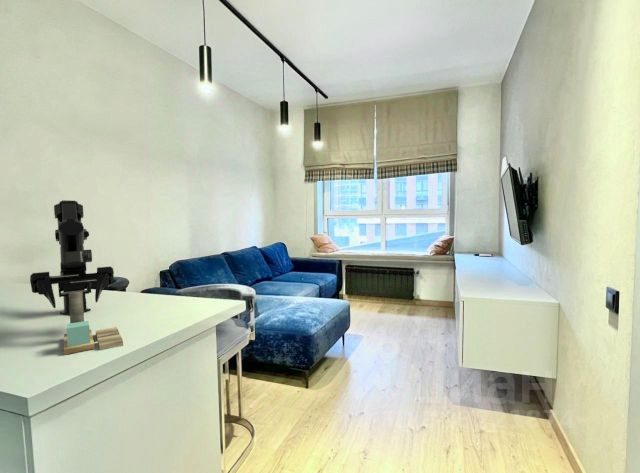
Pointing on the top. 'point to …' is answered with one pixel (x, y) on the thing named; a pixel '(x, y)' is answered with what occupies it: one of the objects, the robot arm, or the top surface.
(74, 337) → the cube
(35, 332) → the top surface
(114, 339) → the beige rectangular block
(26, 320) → the top surface
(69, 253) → the robot arm
